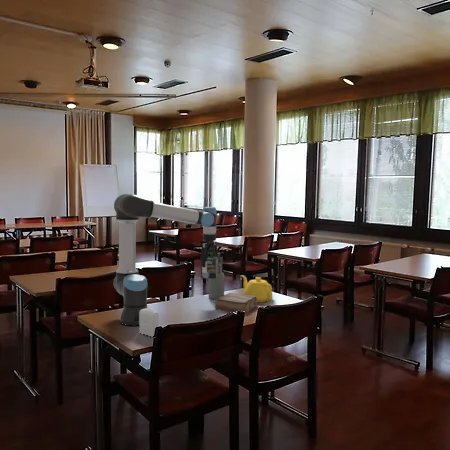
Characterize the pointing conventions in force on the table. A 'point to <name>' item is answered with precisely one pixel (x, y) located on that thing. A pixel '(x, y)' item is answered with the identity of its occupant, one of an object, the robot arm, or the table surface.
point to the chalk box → (211, 267)
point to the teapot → (258, 289)
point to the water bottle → (217, 282)
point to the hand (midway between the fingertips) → (209, 271)
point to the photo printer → (148, 321)
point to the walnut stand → (235, 302)
